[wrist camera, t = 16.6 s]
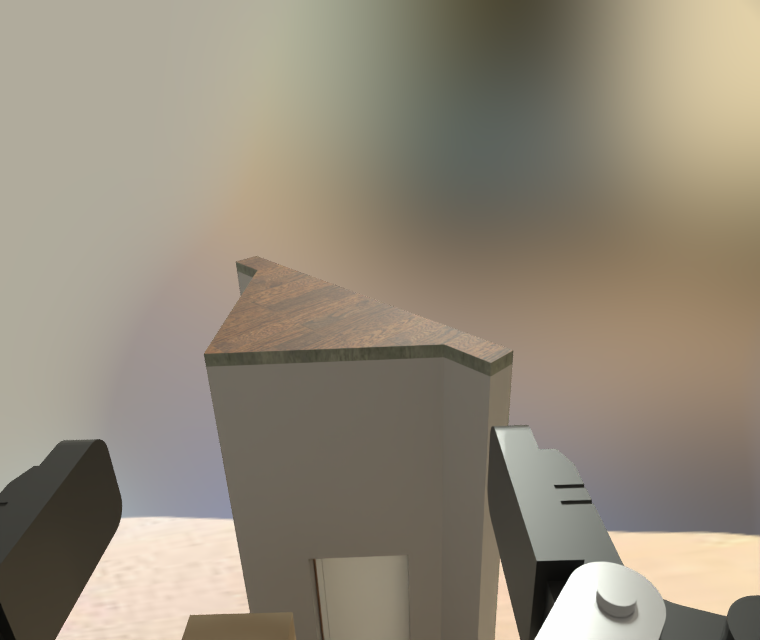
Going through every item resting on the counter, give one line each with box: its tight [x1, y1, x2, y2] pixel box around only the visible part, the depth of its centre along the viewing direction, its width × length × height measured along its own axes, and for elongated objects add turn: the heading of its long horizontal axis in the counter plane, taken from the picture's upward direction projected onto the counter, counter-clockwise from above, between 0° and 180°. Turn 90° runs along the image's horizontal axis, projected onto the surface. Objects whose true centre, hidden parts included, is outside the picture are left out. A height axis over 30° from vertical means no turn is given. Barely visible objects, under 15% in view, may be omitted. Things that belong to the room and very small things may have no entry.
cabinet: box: [204, 256, 513, 640], centre depth 35 cm, size 21×10×28 cm, turn 43°
